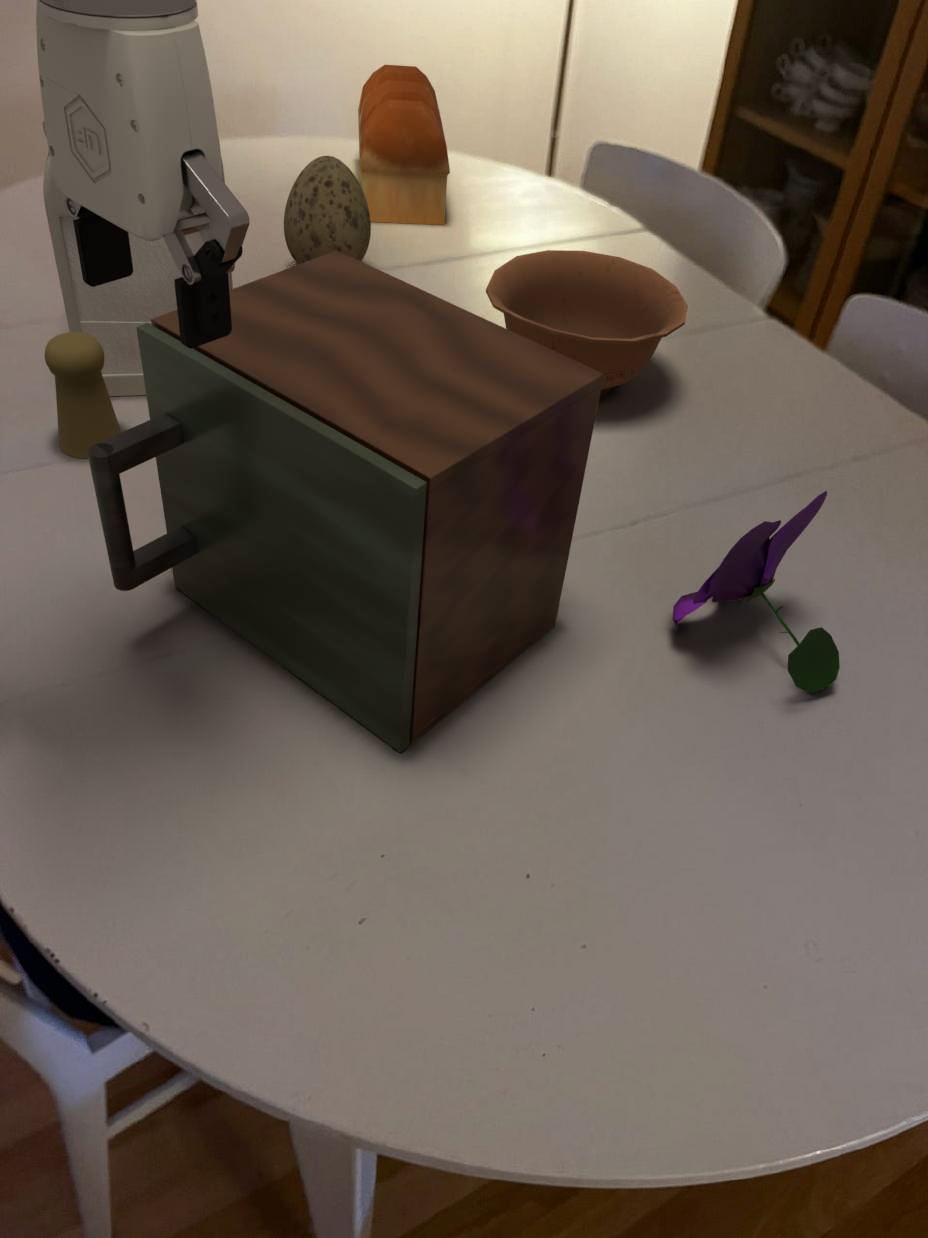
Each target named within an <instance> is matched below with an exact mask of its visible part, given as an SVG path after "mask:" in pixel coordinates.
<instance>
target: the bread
mask: <svg viewBox="0 0 928 1238" xmlns="http://www.w3.org/2000/svg"><path fill="white" fill-rule="evenodd" d="M441 117H442V116H441V112H440V108H439V104H438V99H437V95H436V90H435V87H433V85H432V83H431V81H430V80H429V78H428V76H427V75H426V74H425V73H424V72H423V71H422V70H421V69H419V68H418V67H417V66H412V65H398V64H397V65H396V64H384V65H382V66H380V67H379V68H378V69H376V70H375V71H373V72H372V73H371V75H370V76H369V77H368V78H367V80H366V82H365V83H364V84H363V86H362V88H361V94H360V99H359V104H358V108H357V120H358V121H357V122H358V152H359V153H358V154H359V156H358V157H359V184H360V186H361V188H362V190H363V192H364V195H365V198H366V201H367V204H368V208H369V213H370V221H371V222H372V223H391V224H392V223H393V224H413V225H414V224H418V225H435V226H436V225H439V226H445V217H446V216H445V215H446V201H447V200H446V199H447V188H448V187H447V185H448V176H449V174H450V173H451V169H450V161H449V154H448V153H449V152H448V147H447V141H446V137H445V136H446V135H445V132H444V126H443V122H442V118H441Z"/></svg>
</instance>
